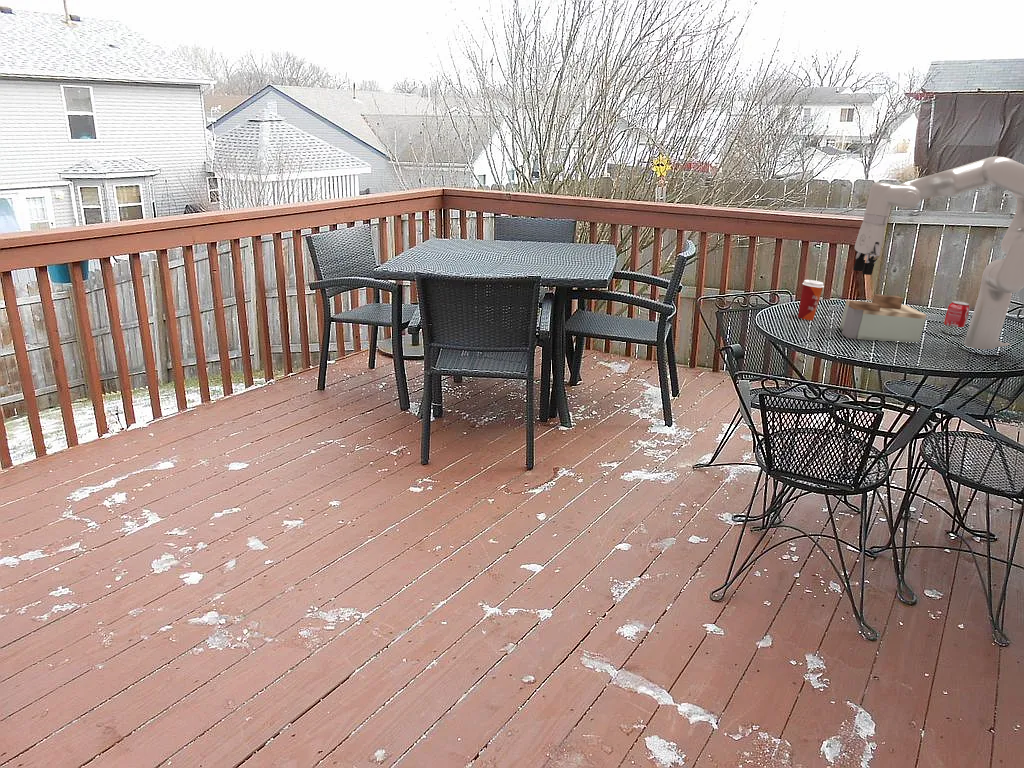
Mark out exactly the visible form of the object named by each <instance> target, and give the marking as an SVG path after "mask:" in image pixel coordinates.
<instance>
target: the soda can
mask: <svg viewBox="0 0 1024 768" xmlns="http://www.w3.org/2000/svg"><path fill="white" fill-rule="evenodd" d="M970 310H971V309H970V303H968V302H966V301H965V302H964V301H962V300H952V301H951V303H950V304H949V305H948V308H947V310H946V314H945V317H944V320H943V323H944V324H945V325H947V326H951V327H965V328H966V325H967V321H968V318H969V313H970Z"/></svg>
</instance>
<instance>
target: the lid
mask: <svg viewBox="0 0 1024 768" xmlns="http://www.w3.org/2000/svg"><path fill="white" fill-rule="evenodd" d="M850 301H854V300H853V299H852V300H851V299H850V300H849V299H845V304H846V305H848V306H849V302H850ZM858 301H859V302H865V300H858ZM903 301H904V297H902V296H900V295H889V294H881V293H880V294H878V293H877V294H876V293H874V294H873V297H872V301H870V302H871V303H877V304H879V305H881V307H880V311H869V310H863V314H872V315H883V316H895V317H907V318H918V319H925V320H926V319H927V314H926V313H924V312H921V311H919V310H917V309H915V308H913V307H911V306H909V305H906V304H903Z"/></svg>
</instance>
